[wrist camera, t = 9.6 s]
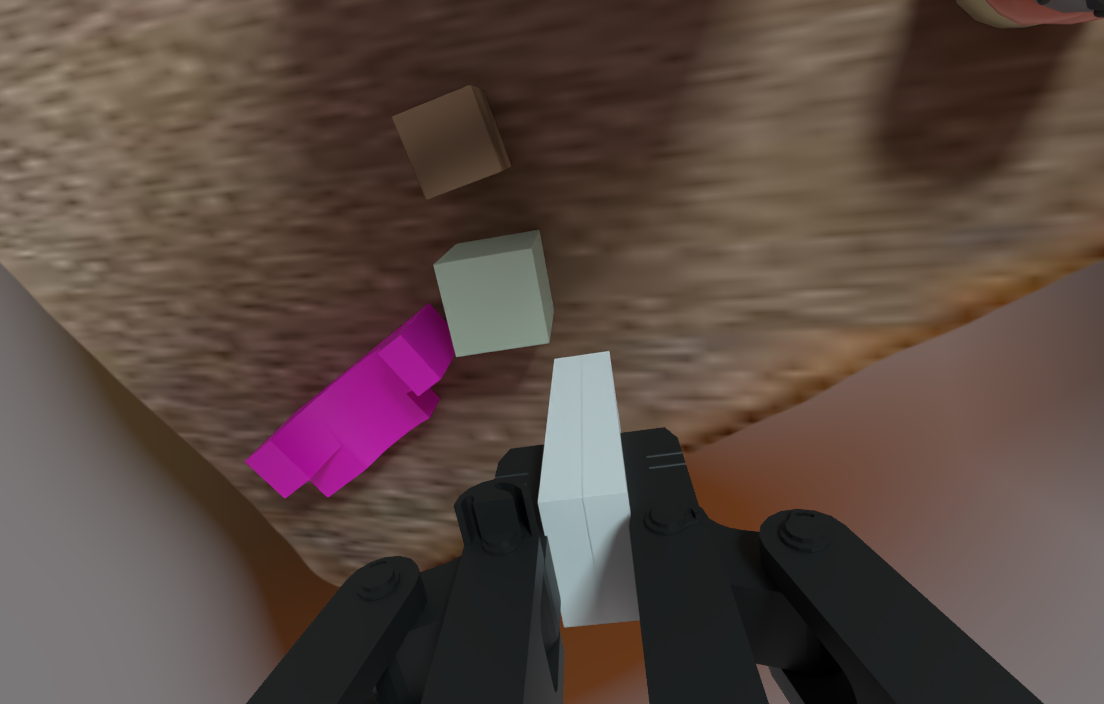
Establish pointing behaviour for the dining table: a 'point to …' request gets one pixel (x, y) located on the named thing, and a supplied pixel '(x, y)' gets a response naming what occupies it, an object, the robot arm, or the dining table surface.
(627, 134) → the dining table surface
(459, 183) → the walnut block
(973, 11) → the cake
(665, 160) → the dining table surface
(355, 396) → the toy block
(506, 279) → the sage block
